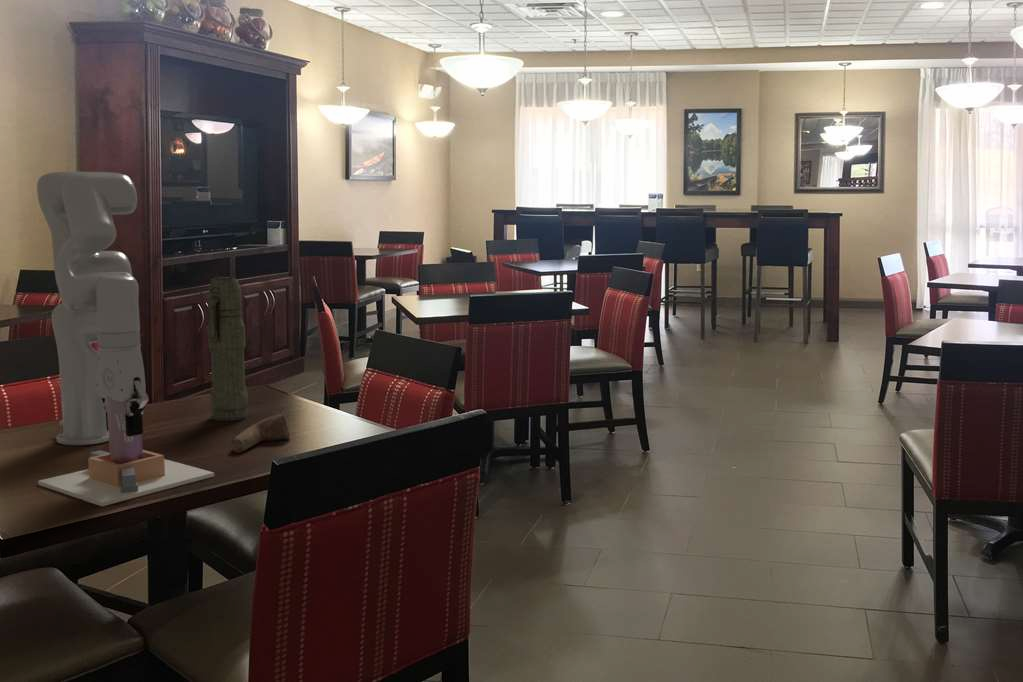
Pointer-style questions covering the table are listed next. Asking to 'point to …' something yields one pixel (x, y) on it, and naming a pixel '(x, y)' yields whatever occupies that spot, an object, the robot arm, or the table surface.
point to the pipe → (262, 433)
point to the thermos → (227, 350)
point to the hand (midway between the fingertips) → (124, 431)
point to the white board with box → (124, 478)
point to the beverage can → (121, 434)
